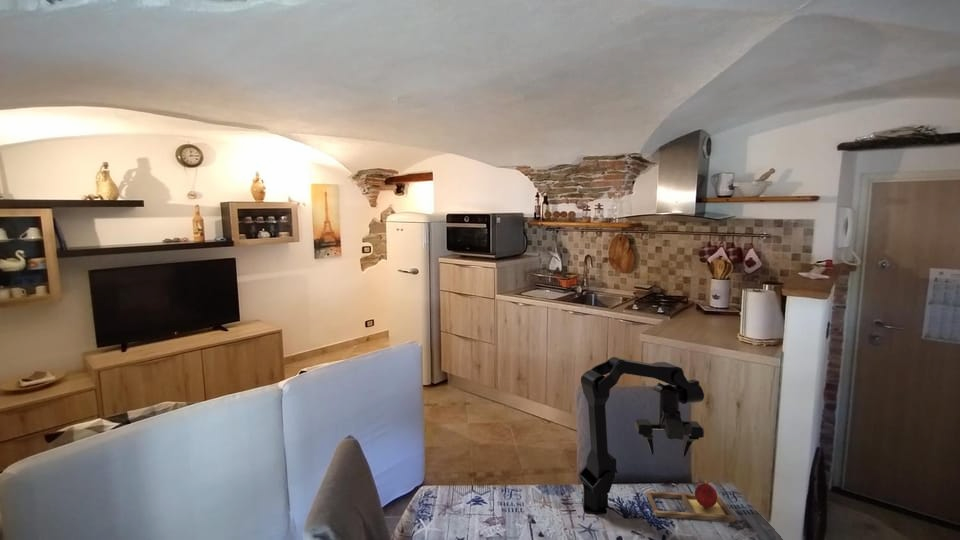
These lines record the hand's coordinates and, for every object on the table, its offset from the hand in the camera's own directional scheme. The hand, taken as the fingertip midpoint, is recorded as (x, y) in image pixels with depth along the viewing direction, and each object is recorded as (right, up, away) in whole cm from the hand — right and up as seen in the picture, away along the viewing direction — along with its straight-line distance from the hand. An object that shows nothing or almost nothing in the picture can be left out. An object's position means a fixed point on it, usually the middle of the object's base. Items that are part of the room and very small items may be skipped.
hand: (667, 455), depth 139 cm
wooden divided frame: (+3, -12, -7) cm, 14 cm away
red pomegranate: (+8, -13, -7) cm, 16 cm away
